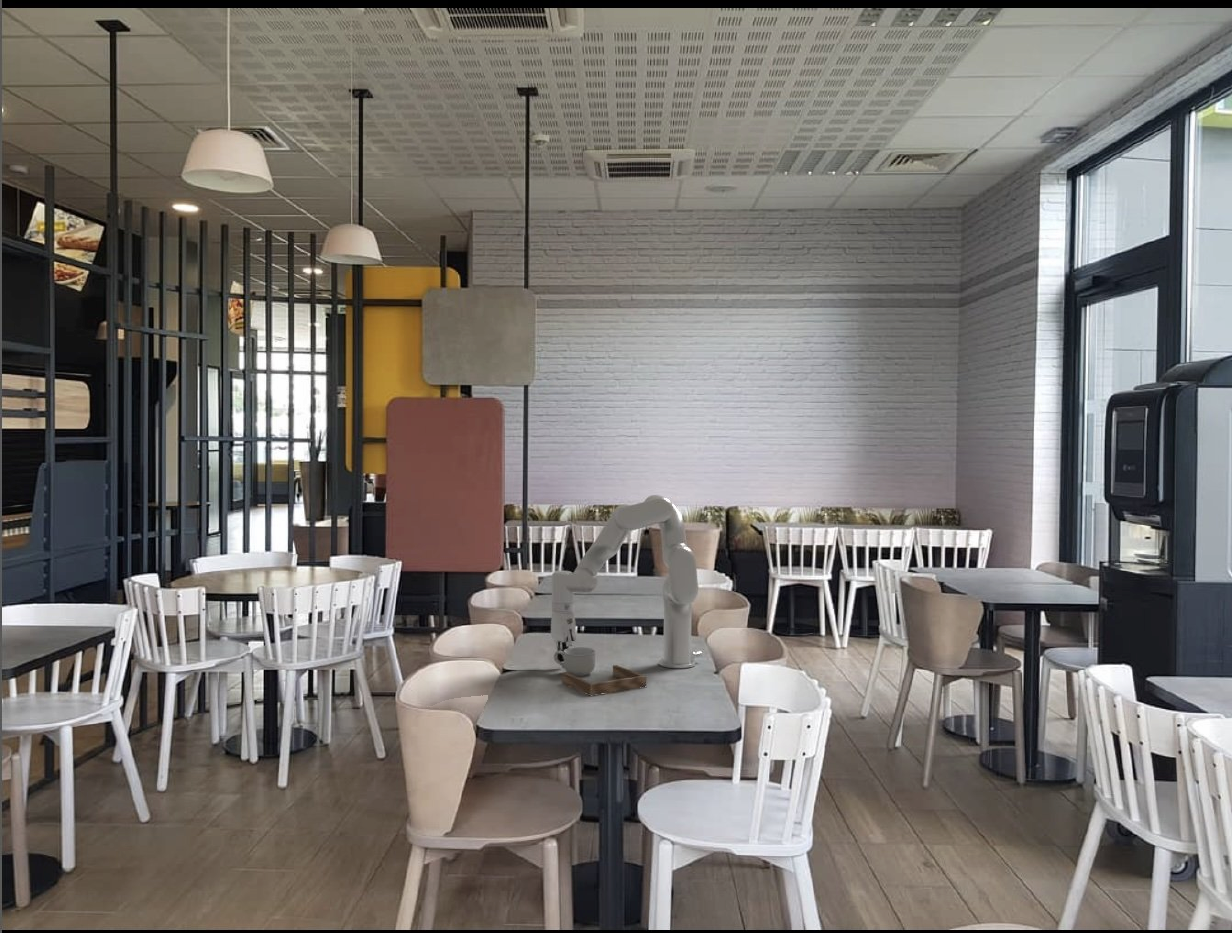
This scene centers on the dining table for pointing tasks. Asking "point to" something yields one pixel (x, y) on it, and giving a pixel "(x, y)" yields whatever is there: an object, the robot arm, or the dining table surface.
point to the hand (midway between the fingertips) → (562, 660)
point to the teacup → (577, 660)
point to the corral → (607, 682)
